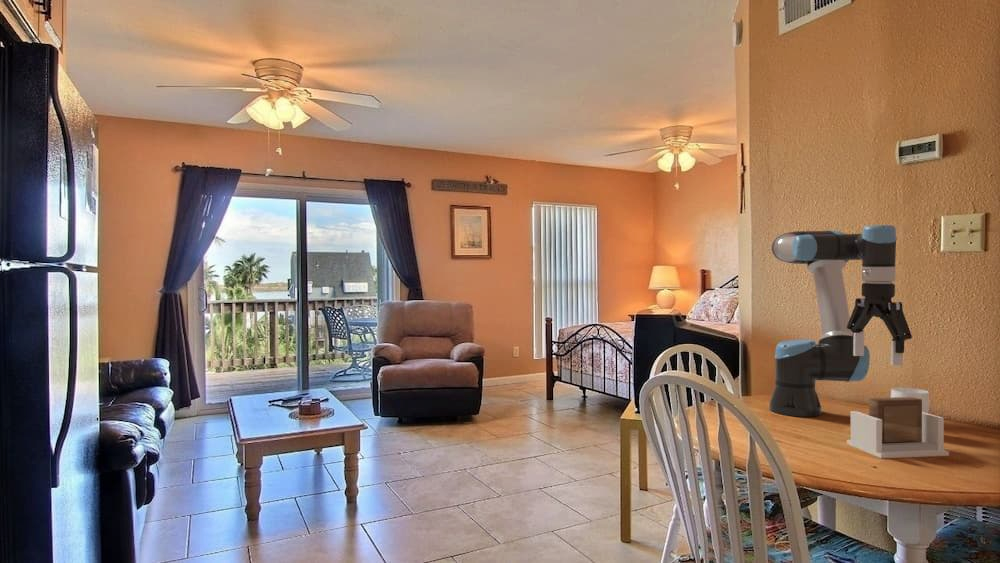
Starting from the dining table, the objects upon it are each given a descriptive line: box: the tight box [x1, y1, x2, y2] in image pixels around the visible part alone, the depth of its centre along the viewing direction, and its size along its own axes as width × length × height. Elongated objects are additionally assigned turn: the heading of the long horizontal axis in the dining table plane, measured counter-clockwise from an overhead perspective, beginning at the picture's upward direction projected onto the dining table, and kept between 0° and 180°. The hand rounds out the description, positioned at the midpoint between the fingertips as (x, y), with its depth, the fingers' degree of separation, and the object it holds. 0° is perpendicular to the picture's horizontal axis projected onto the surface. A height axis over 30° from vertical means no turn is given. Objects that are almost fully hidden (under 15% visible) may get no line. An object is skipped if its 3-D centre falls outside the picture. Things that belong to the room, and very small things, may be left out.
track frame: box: [846, 410, 950, 459], centre depth 145 cm, size 12×18×9 cm, turn 95°
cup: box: [890, 386, 931, 413], centre depth 161 cm, size 9×9×12 cm
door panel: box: [868, 397, 922, 444], centre depth 145 cm, size 3×12×12 cm, turn 95°
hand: (876, 360), depth 154 cm, fingers open, 13 cm apart
